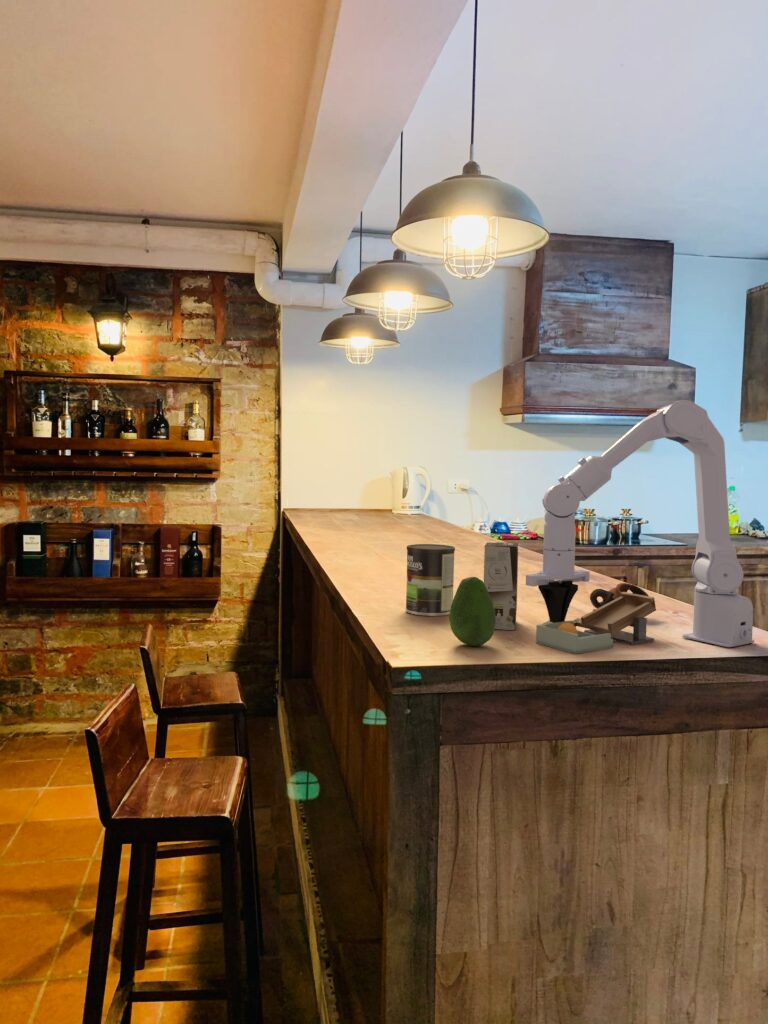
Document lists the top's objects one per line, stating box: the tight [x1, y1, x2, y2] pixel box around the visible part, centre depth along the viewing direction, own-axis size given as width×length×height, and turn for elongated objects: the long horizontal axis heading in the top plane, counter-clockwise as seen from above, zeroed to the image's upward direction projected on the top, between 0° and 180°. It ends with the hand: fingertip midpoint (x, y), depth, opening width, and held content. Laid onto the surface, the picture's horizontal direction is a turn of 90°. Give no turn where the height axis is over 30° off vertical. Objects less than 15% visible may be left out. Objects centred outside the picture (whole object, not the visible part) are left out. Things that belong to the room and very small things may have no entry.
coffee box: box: [483, 541, 519, 631], centre depth 147 cm, size 9×6×16 cm
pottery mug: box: [589, 582, 649, 609], centre depth 157 cm, size 12×10×8 cm
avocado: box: [448, 576, 496, 647], centre depth 129 cm, size 8×8×12 cm
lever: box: [542, 591, 657, 635], centre depth 139 cm, size 14×16×4 cm
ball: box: [558, 623, 578, 634], centre depth 130 cm, size 4×4×4 cm
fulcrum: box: [583, 608, 655, 646], centre depth 138 cm, size 11×6×4 cm, turn 32°
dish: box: [535, 620, 614, 655], centre depth 131 cm, size 9×9×3 cm
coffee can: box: [405, 543, 456, 617], centre depth 160 cm, size 10×10×14 cm
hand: (557, 622), depth 140 cm, fingers closed
